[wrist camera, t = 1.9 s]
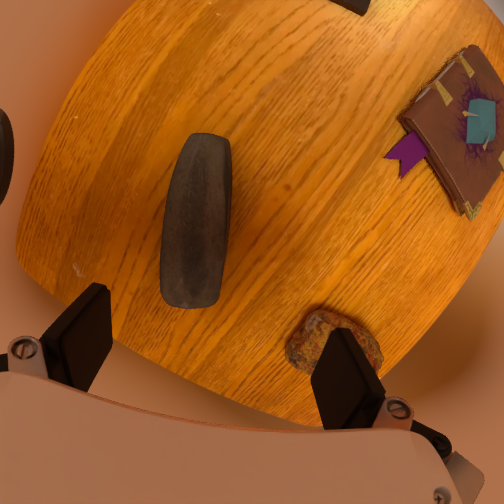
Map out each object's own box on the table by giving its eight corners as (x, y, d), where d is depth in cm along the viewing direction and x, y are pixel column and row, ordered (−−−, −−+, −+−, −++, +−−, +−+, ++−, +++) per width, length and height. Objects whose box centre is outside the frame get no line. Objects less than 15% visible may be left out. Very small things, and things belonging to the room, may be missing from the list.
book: (366, 142, 26) (387, 138, 21) (460, 46, 21) (481, 37, 16) (440, 245, 29) (463, 257, 24) (515, 136, 24) (536, 137, 19)
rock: (306, 348, 38) (268, 367, 30) (327, 296, 37) (294, 303, 29) (373, 383, 31) (352, 416, 23) (401, 328, 30) (390, 349, 22)
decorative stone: (219, 302, 30) (216, 322, 26) (162, 293, 30) (152, 312, 26) (243, 140, 25) (244, 136, 21) (177, 132, 24) (166, 127, 20)
